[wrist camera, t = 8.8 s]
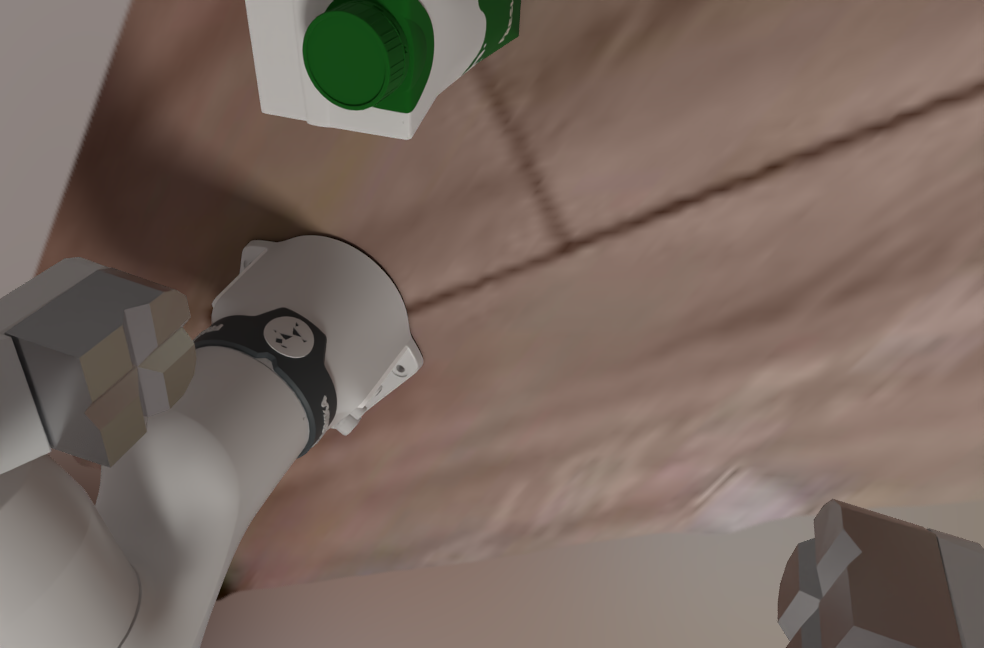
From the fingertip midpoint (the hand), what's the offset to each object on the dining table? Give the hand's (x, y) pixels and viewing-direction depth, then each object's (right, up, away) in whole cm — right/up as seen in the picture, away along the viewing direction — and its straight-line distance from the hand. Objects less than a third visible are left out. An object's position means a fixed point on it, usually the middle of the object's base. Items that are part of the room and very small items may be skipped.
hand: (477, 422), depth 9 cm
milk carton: (-1, +23, +36) cm, 43 cm away
